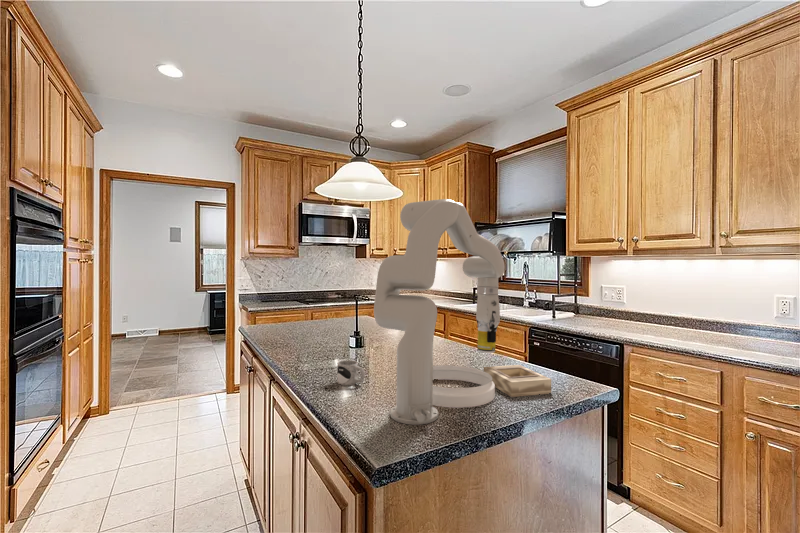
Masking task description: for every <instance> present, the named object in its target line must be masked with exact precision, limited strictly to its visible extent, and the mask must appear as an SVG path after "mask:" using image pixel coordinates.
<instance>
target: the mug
mask: <svg viewBox="0 0 800 533" xmlns="http://www.w3.org/2000/svg"><path fill="white" fill-rule="evenodd" d="M358 371H359V372H360V378H358ZM336 381H337V382H336V383H337V384H338V385H339V384H341V385H340V386H344V385H349V386H354V385H357V384H359V383H360V384H361V383H363V382H364V381H365V370H364V368H362V367H360V366H359V365H358V362H357V361H355V360H341V361H338V362H337V380H336ZM356 383H357V384H356ZM353 384H354V385H353Z"/></svg>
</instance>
